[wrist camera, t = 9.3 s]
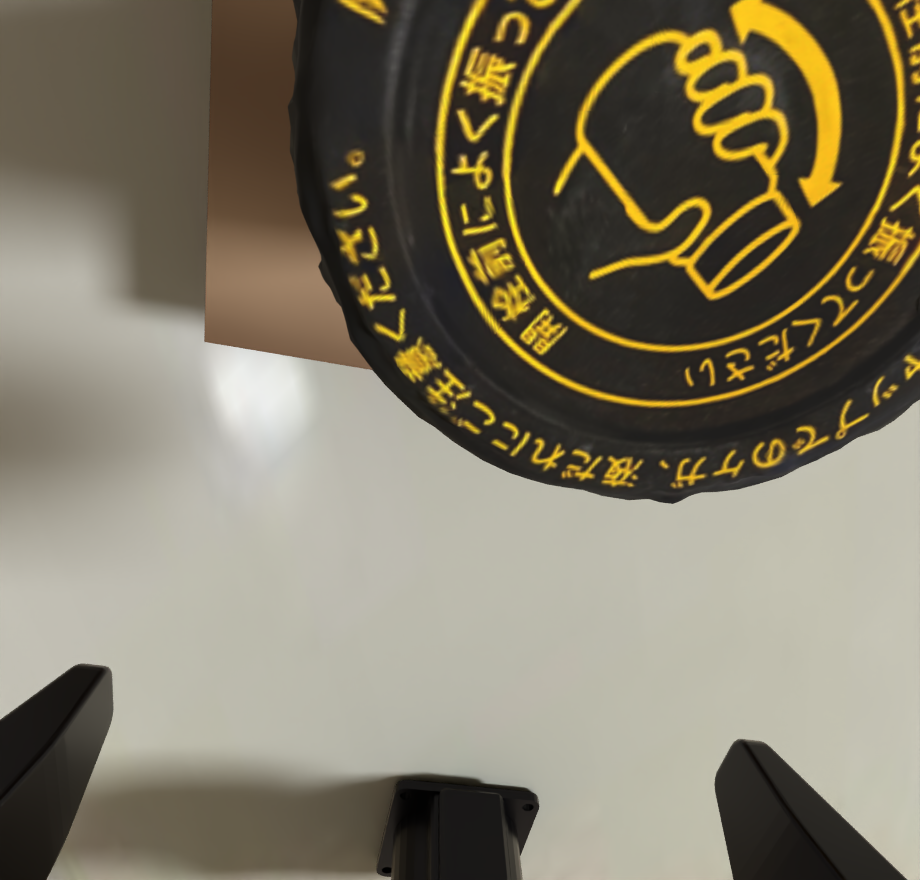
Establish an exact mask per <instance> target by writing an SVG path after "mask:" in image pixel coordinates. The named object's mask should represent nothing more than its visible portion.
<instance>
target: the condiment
mask: <svg viewBox="0 0 920 880" xmlns="http://www.w3.org/2000/svg"><path fill="white" fill-rule="evenodd" d="M293 3H294V8H295V13H296V18H297V28H296V36H295V39H294V44H293V51H292V62H293V66H294V71H295V82H294V90H293V96H292V98H291V100H290V102H289V104H288V113H289V120H290V127H291V129H290V154H291V157H292V160H293V164H294V171H295V178H296V184H297V194H298V197H299V204H300V208H301V211H302V214H303V216H304V219H305V221H306V223H307V226H308V228H309V231H310V233H311V235H312V237H313V239H314V241H315V243H316V245H317V247H318V250H319V252H320V254H321V262H320V264H319V266H318V267H319V270H320V272H321V275H322V277H323V279H324V281H325V282H326V284H327V285H328V286H329V287H330V289H331V291H332V293H333V296H334V298H335V300H336V302H337V303H338V304H339V305H340V306H341V308H342V311H343V314H344V318H345V321H346V325H347V329H348V333H349V337H350V340H351V342H352V343H353V344H354V346H355V347H356V348H357V350H358V351H359V352H360V354H361V355H362V356H363V358H364V359H365V360H366V362H367V363H368V364H369V366H370V367H371V368H372V370H373V371H374V372H375V373H376V374H377V376H378V377H379V378H380V379H381V380H382V382H383V383H384V384H385V385H386V386H387V387H388V388H389V389H390V390H391V391H392V392H393V393H394V394H395V395H396V396H397V397H398V398H399V399H400V400H401V401H402V402H403V403H404V404H405V405H406V406H407V407H409V408H410V409H411V410H412V411H413V412H414V413H415V414H416V415H417V416H418V417H419V418H421V419H423V420H424V421H426V422H427V423H429V424H431V425H432V426H434V427H435V428H437V429H438V430H439V431H440V432H442V433H443V434H444V435H446V436H447V437H448V438H449V439H451V440H452V441H453V442H455V443H456V444H458V445H459V446H461V447H463V448H464V449H466V450H467V451H469V452H471V453H472V454H474V455H475V456H477V457H479V458H480V459H482V460H483V461H485V462H488V463H490V464H492V465H494V466H496V467H498V468H500V469H503V470H505V471H507V472H509V473H512V474H515V475H518V476H521V477H524V478H527V479H530V480H534V481H537V482H541V483H545V484H549V485H555V486H561V487H567V488H574V489H581V490H585V491H588V492H592V493H595V494H598V495H601V496H607V497H613V498H619V499H625V500H638V499H651V500H654V501H658V502H663V503H671V504H674V503H676V502H679V501H681V500H683V499H685V498H686V497H688V496H691V495H694V494H697V493H700V492H719V491H728V490H736V489H741V488H744V487H748V486H752V485H756V484H760V483H763V482H766V481H770V480H773V479H776V478H779V477H782V476H784V475H786V474H788V473H790V472H792V471H794V470H795V469H797V468H799V467H801V466H804V465H806V464H809V463H811V462H813V461H816V460H818V459H820V458H822V457H824V456H825V455H828V454H830V453H832V452H834V451H837V450H839V449H841V448H842V447H843V446H845V445H846V444H848V443H849V442H851V441H852V440H854V439H856V438H858V437H860V436H863V435H866V434H869V433H872V432H875V431H878V430H880V429H881V428H883V427H884V426H886V425H888V424H889V423H891V422H892V421H894V420H895V419H896V418H898V417H899V416H900V415H901V414H902V413H904V412H905V411H906V410H907V409H908V408H909V407H910V406H911V405H912V404H913V403H915V402H916V401H918V400H920V0H293Z"/></svg>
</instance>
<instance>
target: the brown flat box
mask: <svg viewBox="0 0 920 880" xmlns="http://www.w3.org/2000/svg"><path fill="white" fill-rule="evenodd" d="M296 28H297V18H296V13H295V8H294V3H293V0H212V33H211V77H210V121H209V164H208V208H207V252H206V296H205V339H204V342H209V343H215V344H221V345H227V346H233V347H239V348H245V349H251V350H257V351H263V352H269V353H275V354H281V355H287V356H293V357H299V358H305V359H311V360H316V361H322V362H328V363H334V364H340V365H346V366H352V367H358V368H364V369H370V370H372V368H371V367H370V366H369V364H368V363H367V362H366V360H365V359H364V358H363V356H362V355H361V354H360V352H359V351H358V350H357V348H356V347H355V346H354V344H353V343H352V342H351V340H350V337H349V333H348V329H347V325H346V321H345V318H344V314H343V311H342V308H341V306H340V305H339V304H338V303H337V302H336V300H335V298H334V296H333V293H332V291H331V289H330V287H329V286H328V285H327V284H326V282H325V281H324V279H323V277H322V275H321V272H320V270H319V267H318V266H319V264H320V262H321V254H320V252H319V250H318V247H317V245H316V243H315V241H314V239H313V237H312V235H311V233H310V231H309V228H308V226H307V223H306V221H305V219H304V216H303V214H302V211H301V208H300V204H299V197H298V194H297V184H296V178H295V171H294V164H293V160H292V157H291V154H290V129H291V127H290V120H289V113H288V104H289V102H290V100H291V98H292V96H293V90H294V82H295V71H294V66H293V62H292V51H293V44H294V39H295V36H296Z"/></svg>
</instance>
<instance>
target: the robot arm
mask: <svg viewBox="0 0 920 880" xmlns="http://www.w3.org/2000/svg"><path fill="white" fill-rule="evenodd" d="M112 716H113V686H112V672H111V670H110V668H109V667H106V666H100V665H92V664H78V665H75V666H73V667H72V668H70V669H69V670H68V671H66V672H65V673H64V674H62V675H61V676H59V677H58V678H57V679H55V680H54V681H53V682H51V683H50V684H48V685H47V686H46V687H44V688H43V689H42V690H40V691H39V692H38V693H36V694H35V695H33V696H32V697H31V698H29V699H28V700H27V701H25V702H24V703H23V704H21V705H20V706H18V707H17V708H16V709H14V710H13V711H12V712H10V713H9V714H7V715H6V716H5V717H3V718H2V719H1V720H0V880H46V879H47V878H48V876H49V874H50V872H51V870H52V868H53V866H54V864H55V862H56V860H57V858H58V855H59V853H60V851H61V849H62V847H63V845H64V843H65V840H66V838H67V835H68V833H69V831H70V828H71V826H72V823H73V821H74V818H75V815H76V813H77V810H78V808H79V805H80V802H81V800H82V797H83V795H84V792H85V790H86V787H87V784H88V782H89V779H90V777H91V774H92V771H93V769H94V766H95V764H96V761H97V758H98V756H99V753H100V751H101V748H102V746H103V743H104V740H105V738H106V735H107V733H108V730H109V727H110V724H111V721H112ZM715 793H716V798H717V802H718V807H719V812H720V817H721V822H722V826H723V831H724V836H725V841H726V846H727V850H728V855H729V860H730V865H731V870H732V874H733V879H734V880H907V879H906V878H905V877H904V876H903V875H902V874H901V873H900V872H899V871H898V870H897V869H896V868H895V867H894V866H893V865H892V864H891V863H889V862H888V861H887V860H886V859H885V858H884V857H883V856H882V855H881V854H880V853H879V852H878V851H877V850H876V849H875V848H874V847H873V846H872V845H871V844H870V843H869V842H868V841H867V840H866V839H865V838H864V837H863V836H862V835H861V834H859V833H858V832H857V831H856V830H855V829H854V828H853V827H852V826H851V825H850V824H849V823H848V822H847V821H846V820H845V819H844V818H843V817H842V816H841V815H840V814H839V813H838V812H837V811H836V810H835V809H834V808H833V807H832V806H831V805H830V804H828V803H827V802H826V801H825V800H824V799H823V798H822V797H821V796H820V795H819V794H818V793H817V792H816V791H815V790H814V789H813V788H812V787H811V786H810V785H809V784H808V783H807V782H806V781H805V780H804V779H803V778H802V777H801V776H800V775H799V774H797V773H796V772H795V771H794V770H793V769H792V768H791V767H790V766H789V765H788V764H787V763H786V762H785V761H784V760H783V759H782V758H781V757H780V756H779V755H778V754H777V753H776V752H775V751H774V750H773V749H772V748H771V747H769V746H768V745H767V744H765V743H764V742H761V741H754V740H746V739H738V740H736V741H735V742H734V743H733V744H732V746H731V747H730V749H729V751H728V753H727V755H726V756H725V758H724V760H723V762H722V764H721V765H720V767H719V769H718V771H717V773H716V777H715ZM538 810H539V801H538V797H537V795H536V794H534V793H532V792H524V791H514V790H504V789H494V788H484V787H474V786H463V785H453V784H443V783H433V782H423V781H413V780H402V781H399V782H398V783H397V784H396V785H395V788H394V792H393V796H392V800H391V805H390V809H389V813H388V817H387V822H386V826H385V830H384V834H383V838H382V843H381V847H380V851H379V855H378V859H377V873H378V874H380V875H381V876H387V877H391V880H523V879H522V870H521V861H520V855H521V853H522V850H523V848H524V845H525V843H526V840H527V838H528V835H529V832H530V830H531V827H532V825H533V822H534V820H535V817H536V815H537V812H538Z"/></svg>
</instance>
